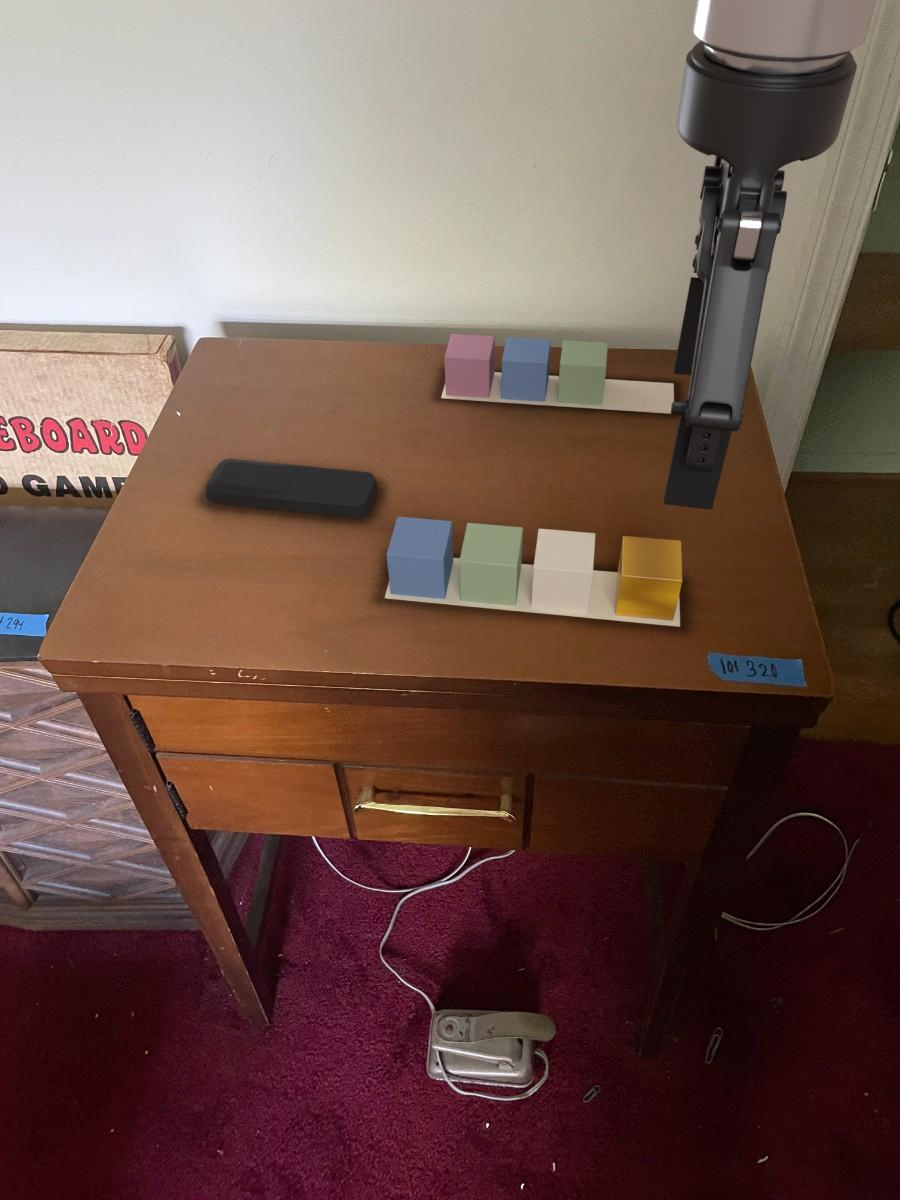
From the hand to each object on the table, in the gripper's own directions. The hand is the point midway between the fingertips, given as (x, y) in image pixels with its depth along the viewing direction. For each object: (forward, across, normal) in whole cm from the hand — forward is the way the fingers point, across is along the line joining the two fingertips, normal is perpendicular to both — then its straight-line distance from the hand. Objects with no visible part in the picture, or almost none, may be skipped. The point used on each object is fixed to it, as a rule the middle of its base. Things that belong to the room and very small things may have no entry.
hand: (691, 433), depth 56 cm
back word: (+18, -30, -12) cm, 36 cm away
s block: (+18, -2, -1) cm, 18 cm away
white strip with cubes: (+18, -2, -10) cm, 20 cm away
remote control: (+18, -10, -32) cm, 38 cm away
